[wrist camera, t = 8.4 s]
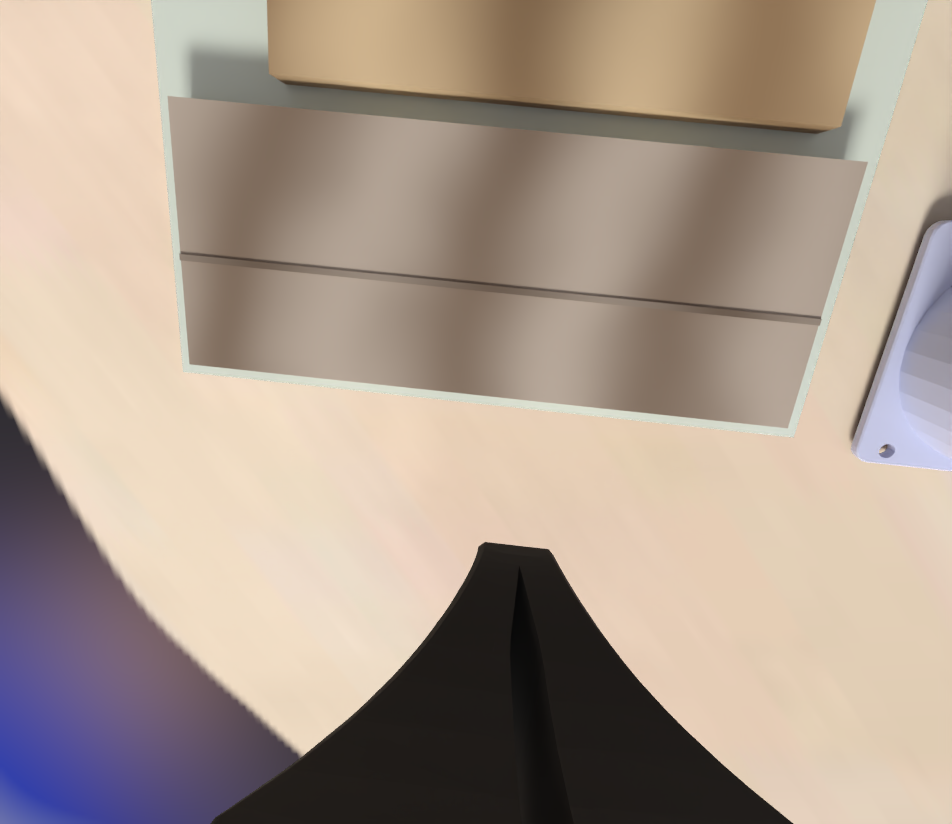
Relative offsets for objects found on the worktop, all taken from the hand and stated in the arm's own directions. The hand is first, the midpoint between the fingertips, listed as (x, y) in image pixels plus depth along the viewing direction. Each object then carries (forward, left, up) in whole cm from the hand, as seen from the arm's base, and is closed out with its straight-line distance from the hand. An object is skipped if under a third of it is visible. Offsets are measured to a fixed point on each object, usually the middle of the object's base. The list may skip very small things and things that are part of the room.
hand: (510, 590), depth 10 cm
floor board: (+1, -5, -10) cm, 11 cm away
